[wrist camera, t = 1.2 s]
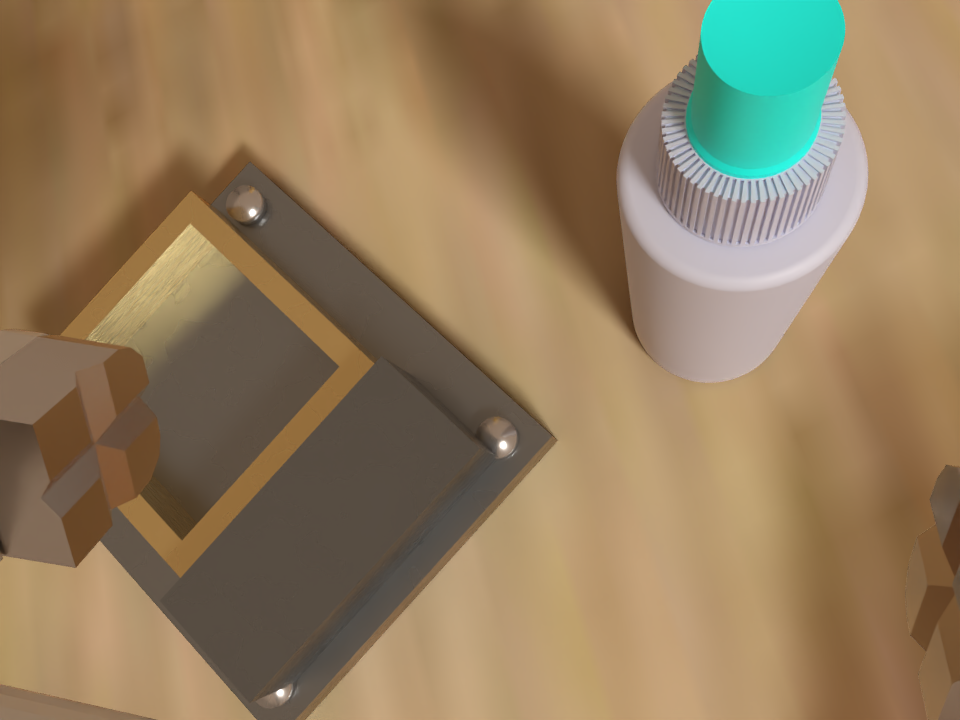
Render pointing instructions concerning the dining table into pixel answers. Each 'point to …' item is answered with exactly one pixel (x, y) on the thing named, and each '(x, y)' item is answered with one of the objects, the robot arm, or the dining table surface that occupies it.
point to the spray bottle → (739, 187)
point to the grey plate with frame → (294, 443)
